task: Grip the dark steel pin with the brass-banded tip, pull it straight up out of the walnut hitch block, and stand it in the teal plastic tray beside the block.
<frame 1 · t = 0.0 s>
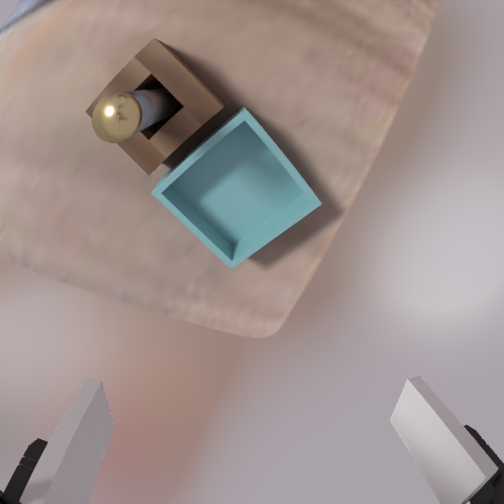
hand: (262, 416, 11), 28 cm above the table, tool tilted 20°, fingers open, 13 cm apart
pin tray: (237, 182, 34), on the table
hitch block: (161, 103, 28), on the table
steel pin: (143, 108, 22), in the hitch block
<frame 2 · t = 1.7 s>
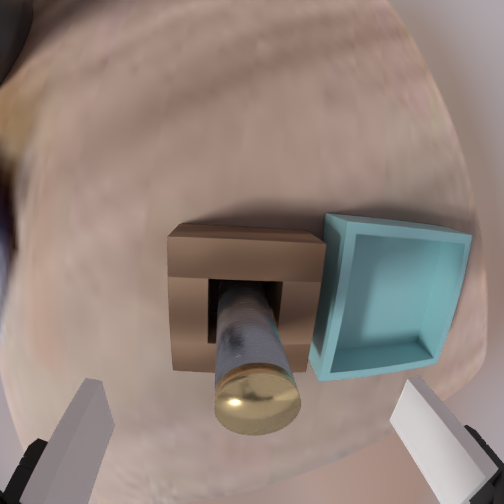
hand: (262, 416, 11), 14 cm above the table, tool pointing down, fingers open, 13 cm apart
pin tray: (380, 289, 25), on the table
hitch block: (240, 287, 24), on the table
steel pin: (246, 328, 17), in the hitch block
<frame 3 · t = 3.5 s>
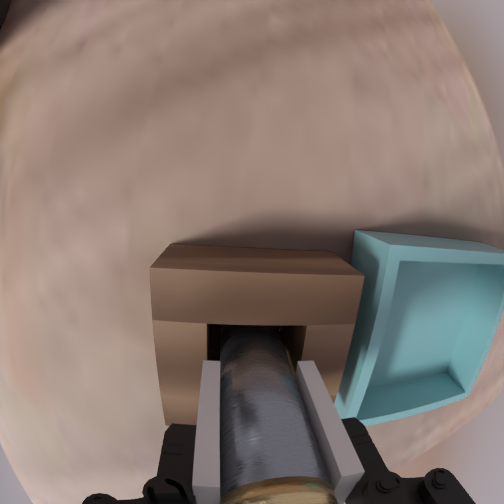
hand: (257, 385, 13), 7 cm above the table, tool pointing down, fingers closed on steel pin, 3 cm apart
pin tray: (412, 317, 20), on the table
hitch block: (247, 322, 19), on the table
steel pin: (258, 390, 12), in the hitch block, touching gripper
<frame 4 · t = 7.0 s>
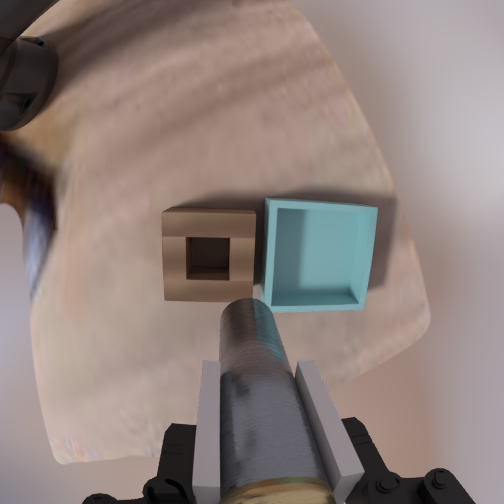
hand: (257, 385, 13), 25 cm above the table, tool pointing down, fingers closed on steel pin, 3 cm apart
pin tray: (312, 250, 38), on the table
hitch block: (210, 248, 36), on the table
steel pin: (257, 390, 12), point 26 cm above the table, touching gripper
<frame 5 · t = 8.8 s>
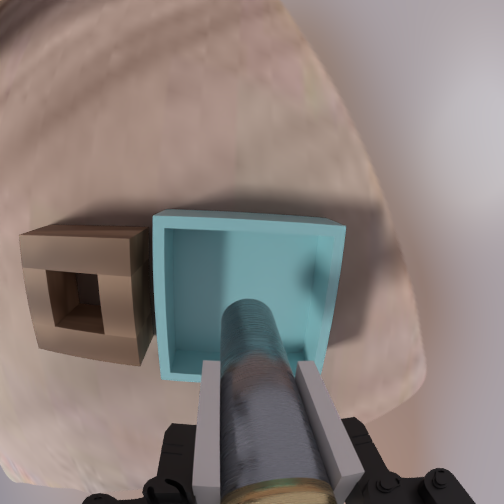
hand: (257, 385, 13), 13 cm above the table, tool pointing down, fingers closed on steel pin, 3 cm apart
pin tray: (242, 289, 25), on the table
hitch block: (98, 281, 24), on the table
steel pin: (258, 391, 12), point 13 cm above the table, touching gripper
when the fingers open (8 cm above the table, at t = 10.4 s): steel pin stays where it is, resting on pin tray.
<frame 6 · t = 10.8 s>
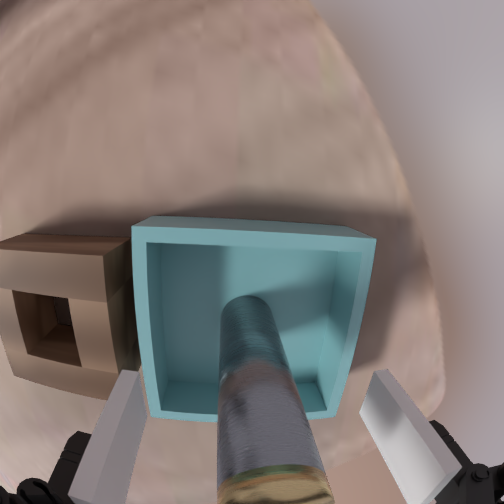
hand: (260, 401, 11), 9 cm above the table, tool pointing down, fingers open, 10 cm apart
pin tray: (246, 312, 20), on the table
hitch block: (76, 300, 19), on the table
steel pin: (256, 384, 13), in the pin tray, point 8 cm above the table
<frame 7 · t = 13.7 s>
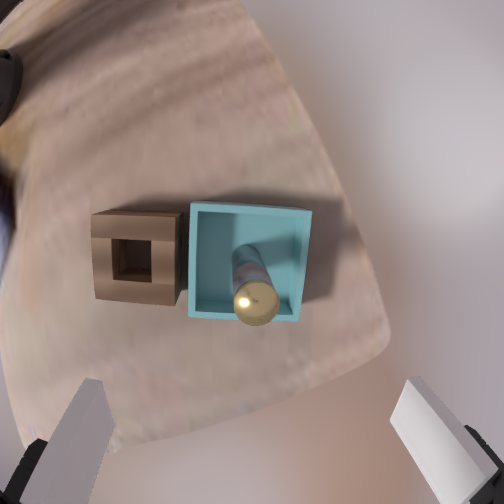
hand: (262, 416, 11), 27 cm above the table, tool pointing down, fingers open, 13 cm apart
pin tray: (245, 256, 37), on the table
hitch block: (143, 250, 35), on the table
steel pin: (250, 276, 29), in the pin tray, point 8 cm above the table
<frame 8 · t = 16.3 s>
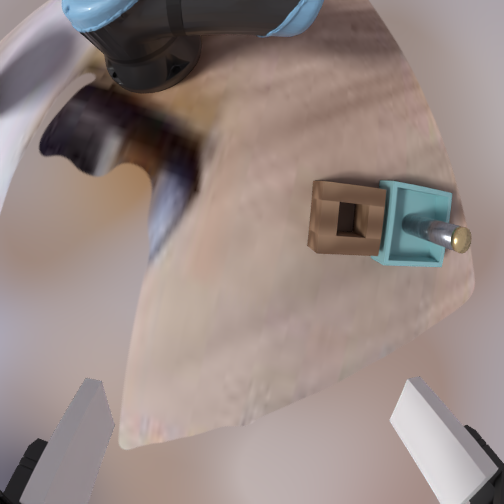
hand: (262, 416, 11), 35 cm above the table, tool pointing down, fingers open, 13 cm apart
pin tray: (406, 222, 46), on the table
hitch block: (340, 216, 44), on the table
steel pin: (433, 231, 38), in the pin tray, point 8 cm above the table
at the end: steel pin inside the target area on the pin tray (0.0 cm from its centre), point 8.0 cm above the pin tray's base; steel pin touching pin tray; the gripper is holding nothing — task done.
